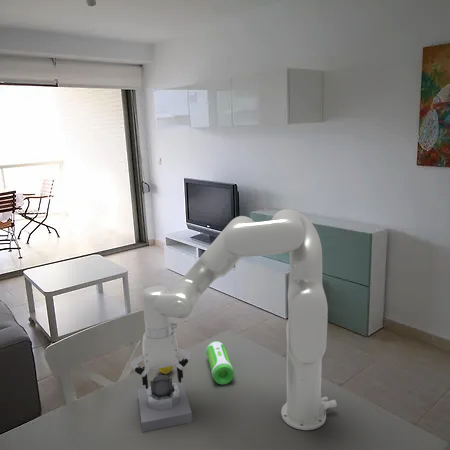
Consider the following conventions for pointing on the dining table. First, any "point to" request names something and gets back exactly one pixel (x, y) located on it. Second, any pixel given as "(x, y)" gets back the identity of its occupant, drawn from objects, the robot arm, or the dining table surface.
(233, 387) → the dining table surface
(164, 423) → the plate with octagonal ring
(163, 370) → the lemon
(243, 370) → the dining table surface
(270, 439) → the dining table surface
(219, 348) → the speaker
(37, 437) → the dining table surface
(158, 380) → the dark grey domed knob
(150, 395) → the octagonal blue-lined ring
